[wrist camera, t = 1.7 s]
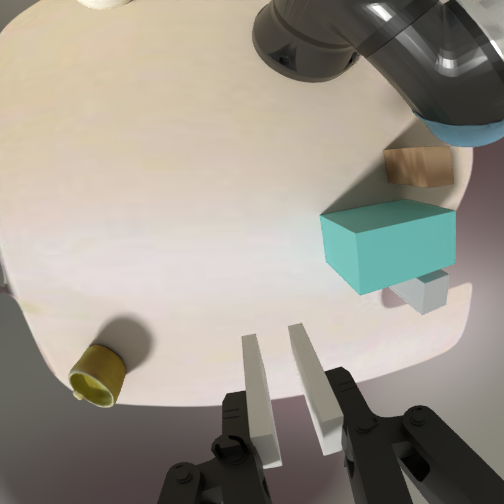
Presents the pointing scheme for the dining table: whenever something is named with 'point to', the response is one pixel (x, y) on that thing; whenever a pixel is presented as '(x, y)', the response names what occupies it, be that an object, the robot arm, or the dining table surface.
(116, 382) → the mug
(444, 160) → the walnut block
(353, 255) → the teal block
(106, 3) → the lidded bowl
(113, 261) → the dining table surface
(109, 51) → the dining table surface
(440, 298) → the grey block
